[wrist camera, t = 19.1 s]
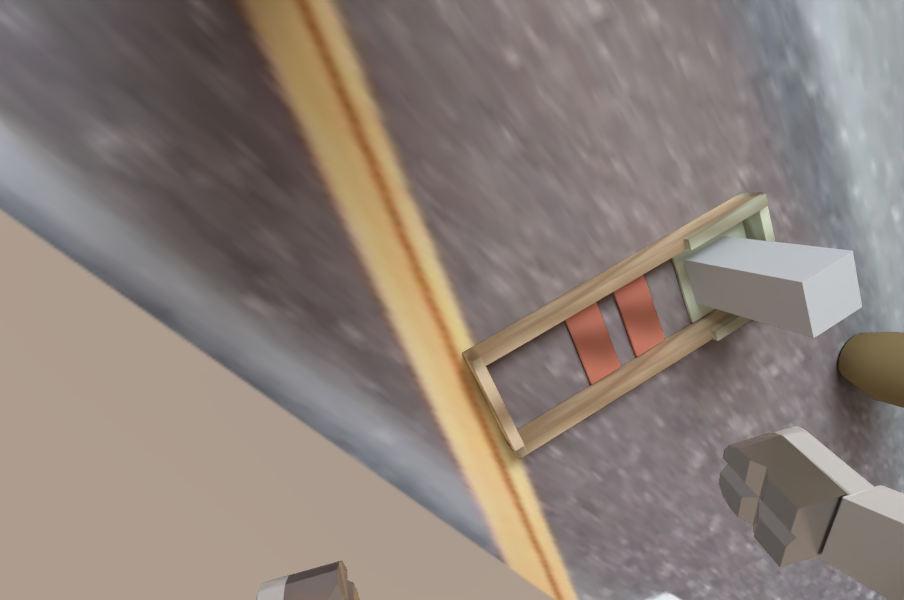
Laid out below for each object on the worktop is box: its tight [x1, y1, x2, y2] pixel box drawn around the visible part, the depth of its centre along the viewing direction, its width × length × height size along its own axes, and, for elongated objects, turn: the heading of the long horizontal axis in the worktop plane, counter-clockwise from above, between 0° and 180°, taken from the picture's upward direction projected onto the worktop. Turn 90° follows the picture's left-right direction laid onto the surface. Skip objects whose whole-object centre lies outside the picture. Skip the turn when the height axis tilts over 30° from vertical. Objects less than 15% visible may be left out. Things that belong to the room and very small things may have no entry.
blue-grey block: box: [683, 236, 862, 338], centre depth 42 cm, size 5×5×12 cm
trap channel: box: [462, 193, 775, 459], centre depth 45 cm, size 11×32×3 cm, turn 116°
